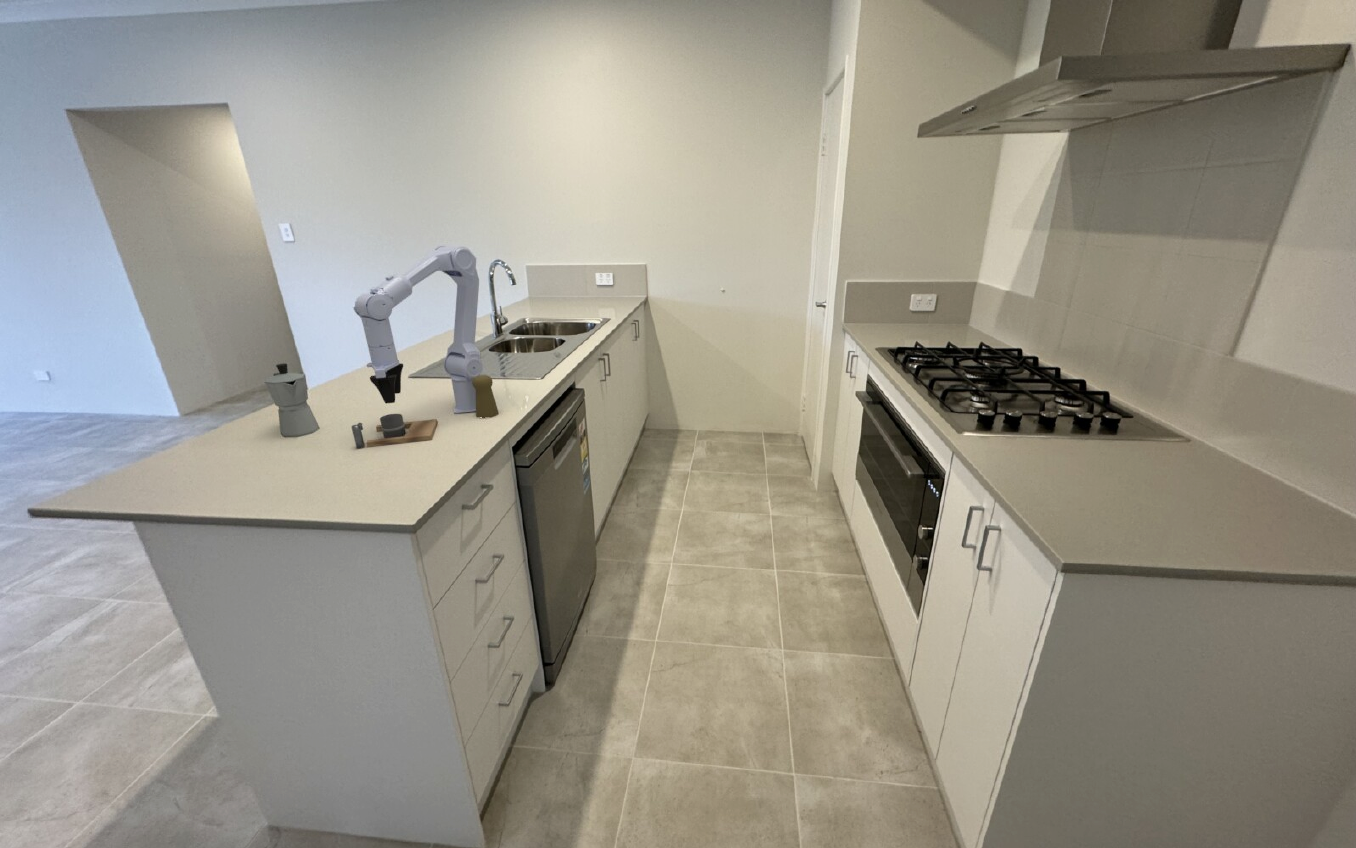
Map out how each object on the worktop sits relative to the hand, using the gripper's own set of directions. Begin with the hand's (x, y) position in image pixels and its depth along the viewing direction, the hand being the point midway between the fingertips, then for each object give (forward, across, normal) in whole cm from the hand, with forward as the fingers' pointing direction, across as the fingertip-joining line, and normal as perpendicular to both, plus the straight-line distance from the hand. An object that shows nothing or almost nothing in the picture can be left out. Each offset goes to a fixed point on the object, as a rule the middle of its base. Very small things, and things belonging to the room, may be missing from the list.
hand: (393, 397), depth 138 cm
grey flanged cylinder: (+9, +2, -1) cm, 10 cm away
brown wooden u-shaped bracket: (+9, +2, +2) cm, 10 cm away
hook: (+9, +6, -8) cm, 13 cm away
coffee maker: (+9, -10, -26) cm, 29 cm away
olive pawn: (+10, -7, +21) cm, 24 cm away
